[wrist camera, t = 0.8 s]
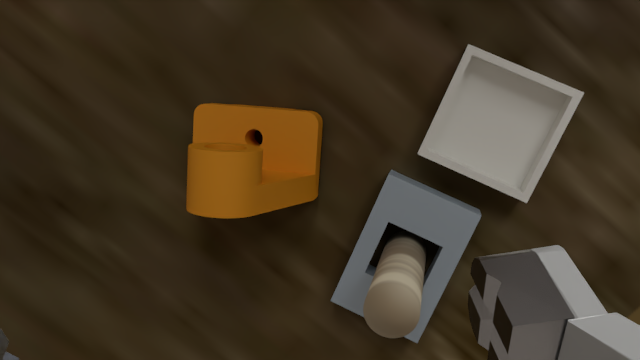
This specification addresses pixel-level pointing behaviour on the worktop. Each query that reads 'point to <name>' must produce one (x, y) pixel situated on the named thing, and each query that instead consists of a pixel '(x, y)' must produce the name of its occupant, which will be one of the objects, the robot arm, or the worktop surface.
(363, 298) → the block
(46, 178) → the worktop surface
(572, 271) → the robot arm
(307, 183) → the bracket
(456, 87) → the tray
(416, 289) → the dowel
